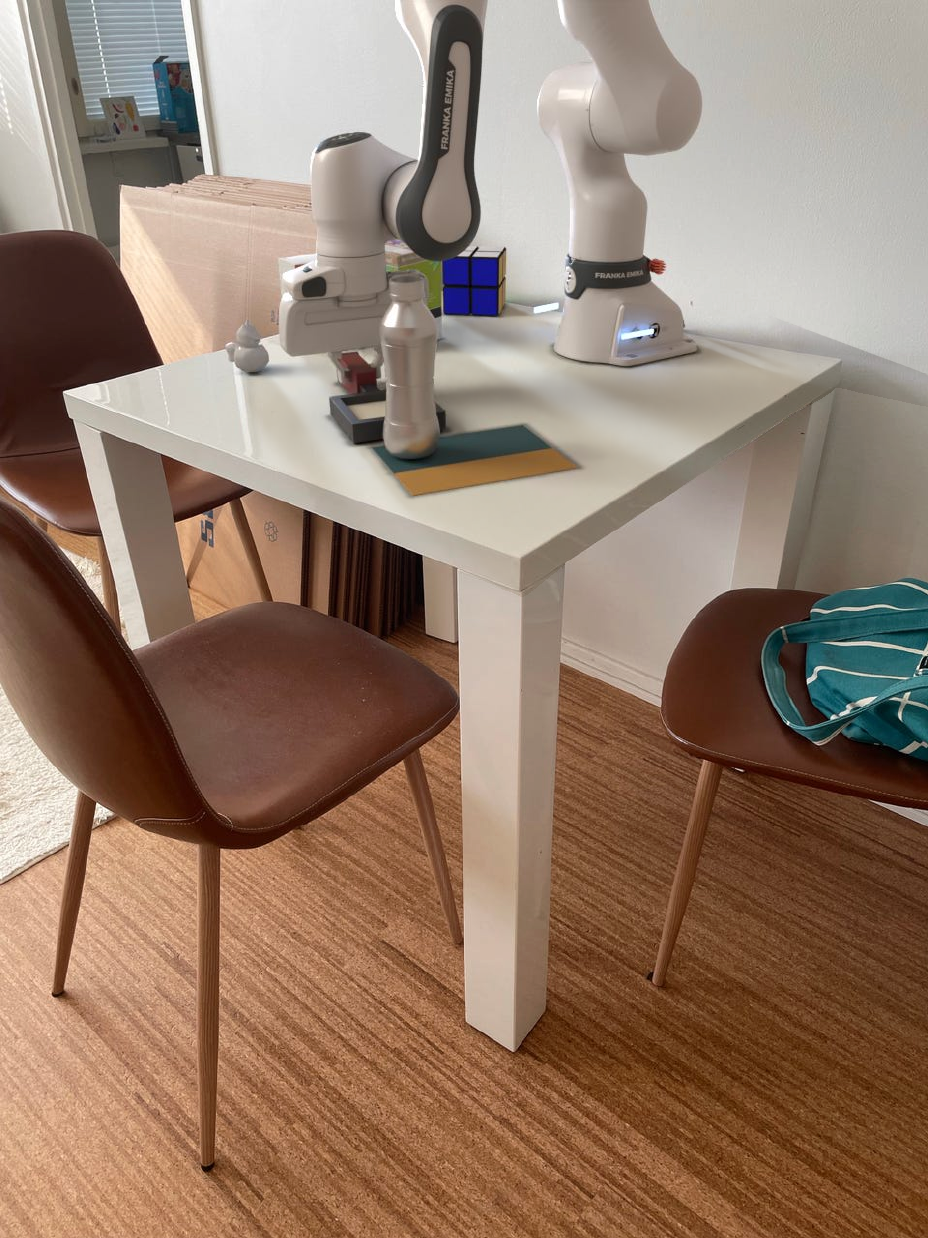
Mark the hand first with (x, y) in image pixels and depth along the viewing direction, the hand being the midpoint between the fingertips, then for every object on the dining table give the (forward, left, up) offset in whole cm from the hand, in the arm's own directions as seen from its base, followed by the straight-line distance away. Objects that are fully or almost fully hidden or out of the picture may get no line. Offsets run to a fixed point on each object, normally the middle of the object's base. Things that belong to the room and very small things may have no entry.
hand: (359, 379), depth 128 cm
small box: (-1, -28, -2) cm, 29 cm away
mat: (-6, +27, -2) cm, 27 cm away
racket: (0, +6, -2) cm, 6 cm away
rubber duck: (+12, -17, -2) cm, 21 cm away
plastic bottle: (+1, +23, -2) cm, 23 cm away
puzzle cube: (-33, -38, -2) cm, 51 cm away
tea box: (-13, -26, -2) cm, 29 cm away
